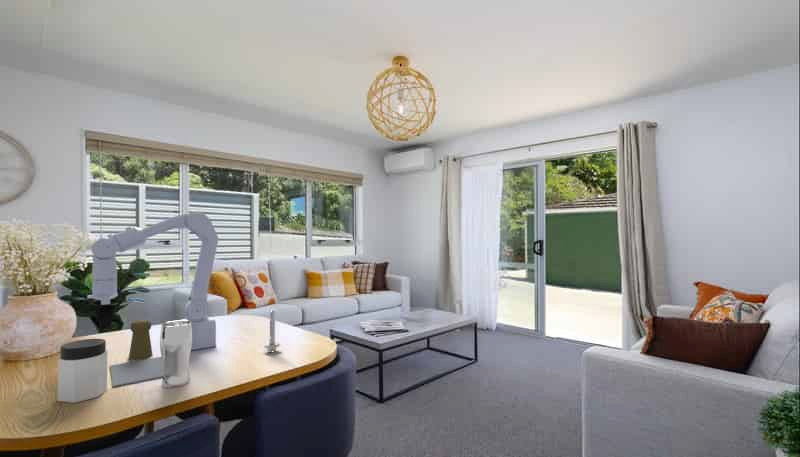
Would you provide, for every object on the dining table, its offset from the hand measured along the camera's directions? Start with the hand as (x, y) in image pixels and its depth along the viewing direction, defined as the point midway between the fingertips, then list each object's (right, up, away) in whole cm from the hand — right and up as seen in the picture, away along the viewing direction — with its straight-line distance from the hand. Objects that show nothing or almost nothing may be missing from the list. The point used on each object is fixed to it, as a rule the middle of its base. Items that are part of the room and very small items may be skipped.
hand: (104, 325), depth 113 cm
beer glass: (+31, -10, -17) cm, 36 cm away
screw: (+46, -11, +8) cm, 48 cm away
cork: (+9, -10, +3) cm, 14 cm away
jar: (+13, -10, -24) cm, 29 cm away
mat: (+17, -10, -8) cm, 22 cm away
